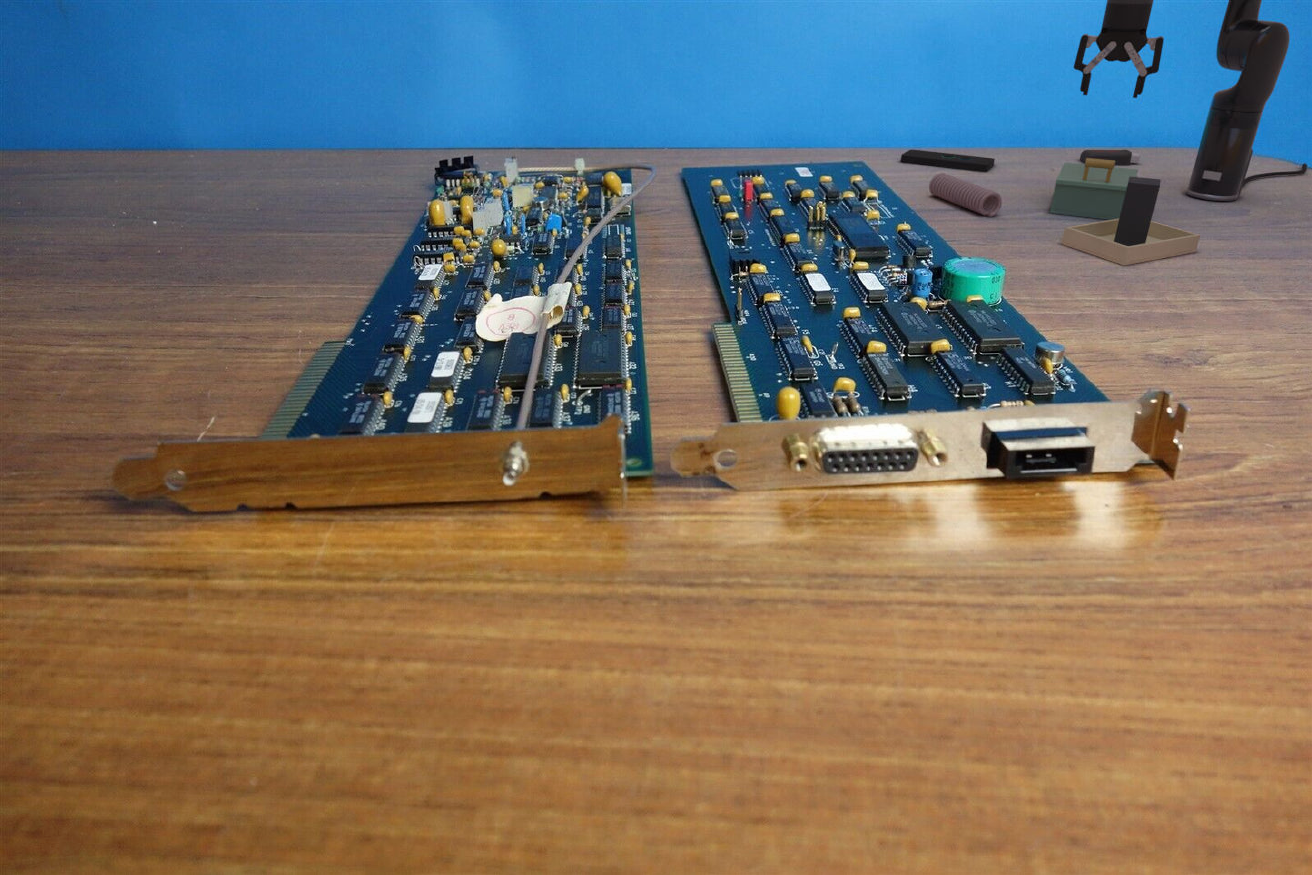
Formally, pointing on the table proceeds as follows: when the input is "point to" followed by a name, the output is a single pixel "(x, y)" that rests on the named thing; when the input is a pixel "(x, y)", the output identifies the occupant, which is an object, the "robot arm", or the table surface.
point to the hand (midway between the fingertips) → (1109, 96)
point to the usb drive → (1111, 156)
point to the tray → (1157, 246)
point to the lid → (1096, 174)
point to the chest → (1087, 202)
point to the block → (1137, 211)
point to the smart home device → (948, 160)
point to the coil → (965, 194)
